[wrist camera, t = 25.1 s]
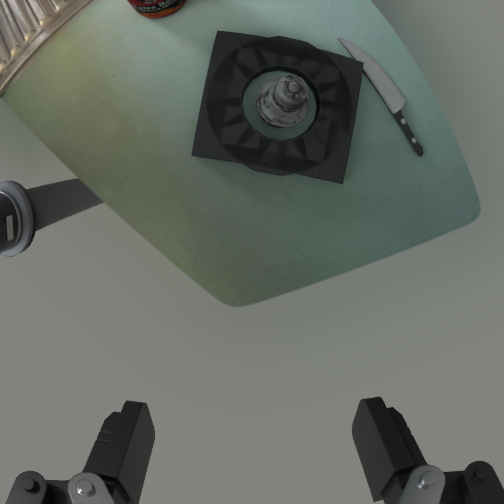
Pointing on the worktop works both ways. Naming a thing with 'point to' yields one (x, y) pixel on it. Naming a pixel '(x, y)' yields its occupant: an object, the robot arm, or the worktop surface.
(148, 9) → the canned food
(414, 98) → the worktop surface
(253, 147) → the black pad
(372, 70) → the chef's knife
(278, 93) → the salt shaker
